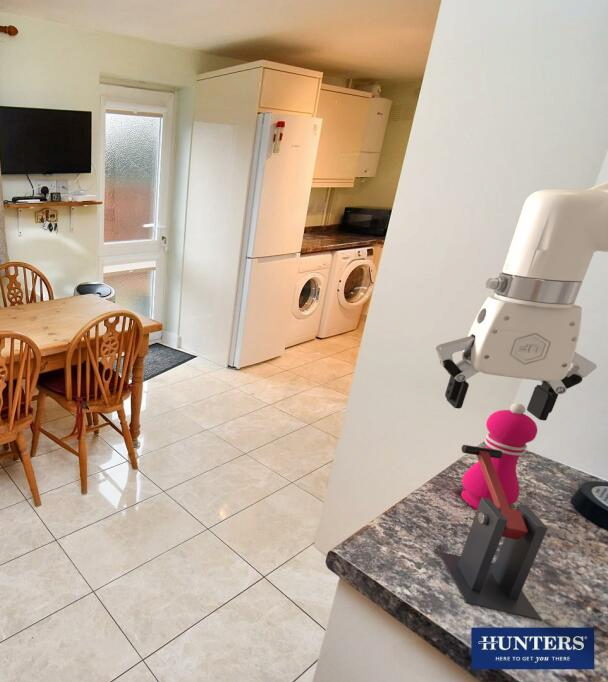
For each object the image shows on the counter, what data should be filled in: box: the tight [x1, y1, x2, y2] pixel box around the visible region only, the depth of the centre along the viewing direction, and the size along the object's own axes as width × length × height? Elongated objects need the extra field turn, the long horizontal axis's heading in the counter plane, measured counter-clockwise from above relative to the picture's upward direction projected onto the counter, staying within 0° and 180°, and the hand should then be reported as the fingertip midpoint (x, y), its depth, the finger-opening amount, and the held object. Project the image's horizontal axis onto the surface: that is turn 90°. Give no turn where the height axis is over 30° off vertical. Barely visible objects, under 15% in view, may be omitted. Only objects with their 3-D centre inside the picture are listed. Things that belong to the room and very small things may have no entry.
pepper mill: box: [460, 402, 538, 512], centre depth 73 cm, size 7×7×20 cm
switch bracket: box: [437, 498, 548, 622], centre depth 58 cm, size 9×8×13 cm
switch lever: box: [461, 444, 528, 540], centre depth 61 cm, size 13×4×2 cm, turn 162°
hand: (493, 410), depth 62 cm, fingers open, 9 cm apart
